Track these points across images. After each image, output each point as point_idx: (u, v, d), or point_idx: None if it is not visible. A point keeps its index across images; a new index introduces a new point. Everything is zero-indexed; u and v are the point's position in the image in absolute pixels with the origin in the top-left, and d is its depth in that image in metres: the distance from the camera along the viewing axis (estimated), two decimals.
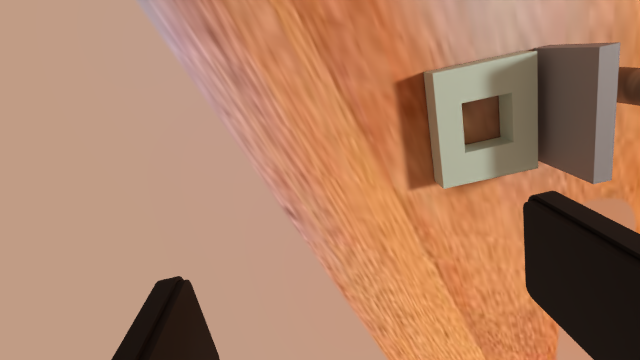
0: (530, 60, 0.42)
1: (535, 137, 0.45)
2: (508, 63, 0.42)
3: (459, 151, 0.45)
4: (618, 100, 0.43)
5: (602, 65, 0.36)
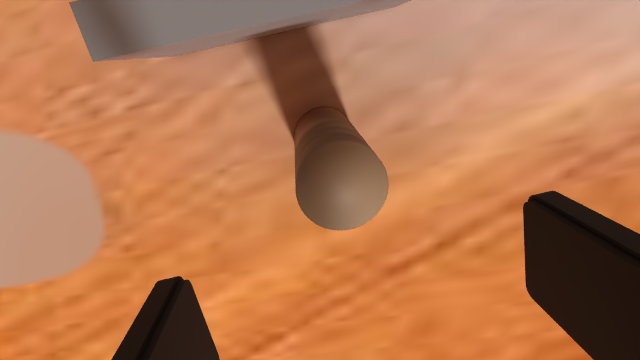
0: None
1: None
2: None
3: None
4: (300, 133, 0.21)
5: None
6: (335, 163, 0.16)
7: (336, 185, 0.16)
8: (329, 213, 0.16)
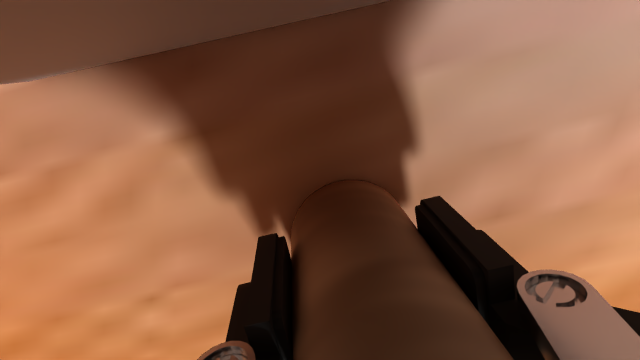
0: None
1: None
2: None
3: None
4: (306, 270, 0.09)
5: None
6: None
7: None
8: None
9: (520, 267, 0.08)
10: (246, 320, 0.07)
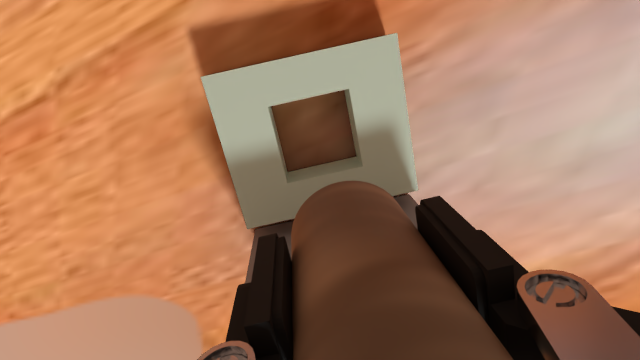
0: (406, 183, 0.30)
1: (295, 214, 0.30)
2: (404, 152, 0.29)
3: (269, 96, 0.27)
4: (306, 271, 0.09)
5: None
6: None
7: None
8: None
9: (520, 267, 0.08)
10: (246, 320, 0.07)
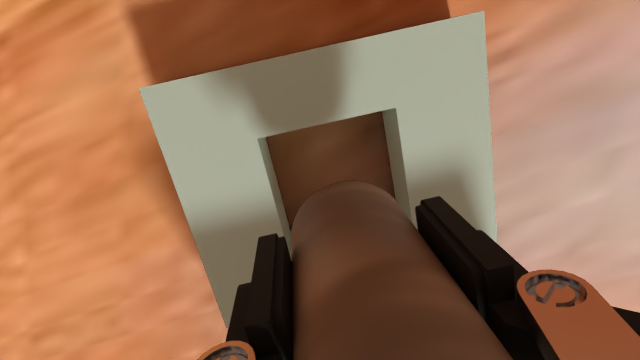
0: None
1: None
2: (481, 210, 0.18)
3: (260, 121, 0.16)
4: (306, 271, 0.09)
5: None
6: None
7: None
8: None
9: (520, 267, 0.08)
10: (246, 320, 0.07)
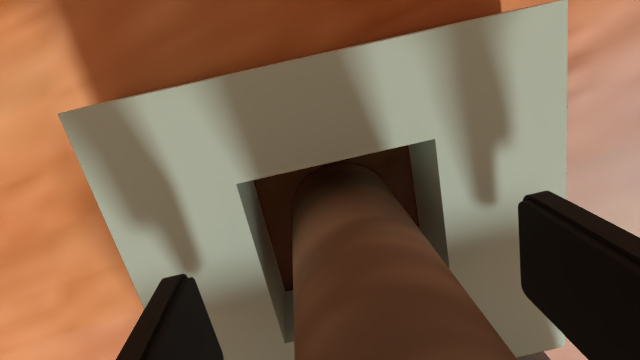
0: (542, 334, 0.14)
1: None
2: None
3: (240, 159, 0.11)
4: (304, 231, 0.11)
5: None
6: None
7: None
8: None
9: None
10: None
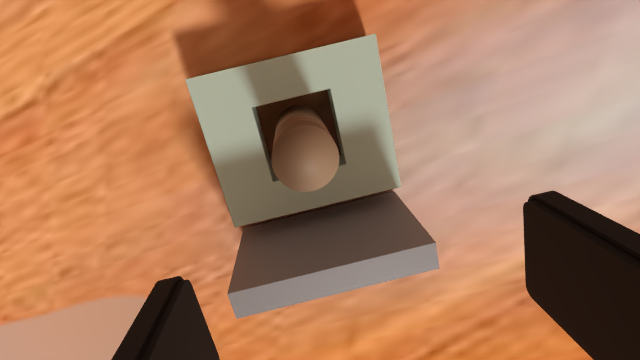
0: (389, 180, 0.30)
1: (281, 212, 0.31)
2: (386, 150, 0.30)
3: (253, 97, 0.27)
4: (278, 124, 0.27)
5: (409, 253, 0.25)
6: (299, 141, 0.22)
7: (300, 157, 0.22)
8: (297, 179, 0.22)
9: None
10: None
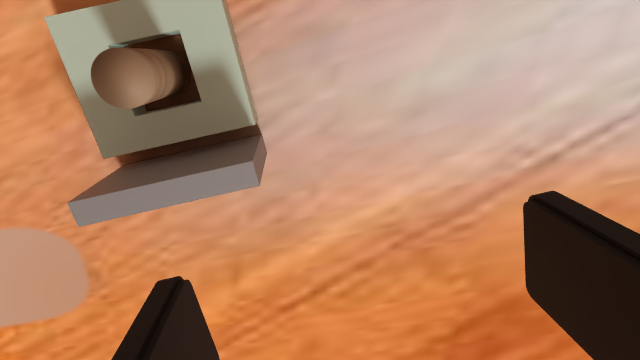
0: (243, 118, 0.34)
1: (146, 146, 0.34)
2: (237, 89, 0.33)
3: (108, 36, 0.31)
4: None
5: (229, 170, 0.28)
6: (114, 61, 0.25)
7: (117, 76, 0.25)
8: (116, 96, 0.26)
9: None
10: None
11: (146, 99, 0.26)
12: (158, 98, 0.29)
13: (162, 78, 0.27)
